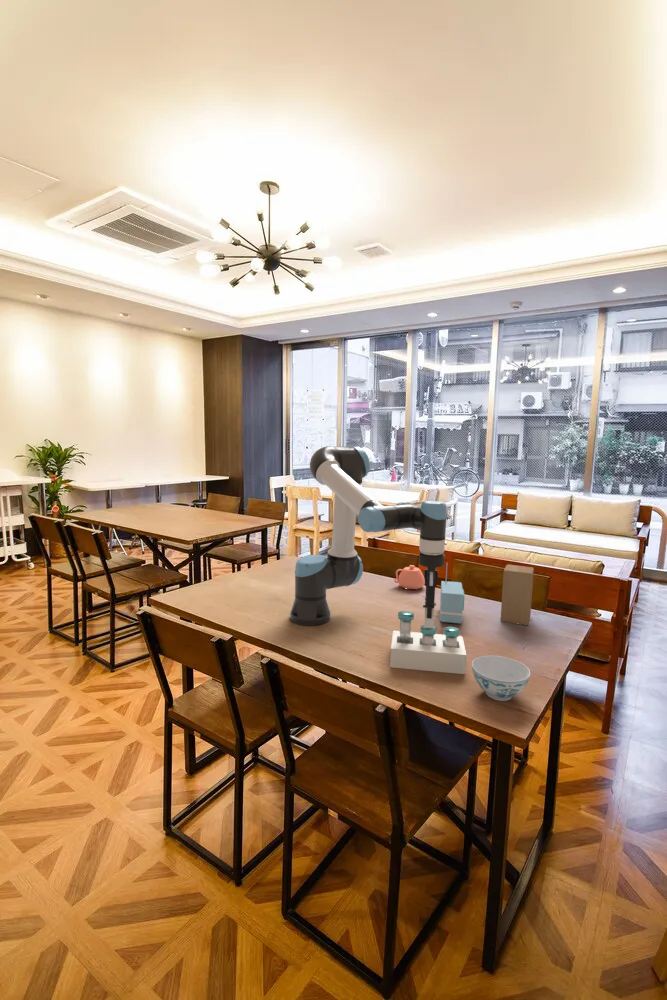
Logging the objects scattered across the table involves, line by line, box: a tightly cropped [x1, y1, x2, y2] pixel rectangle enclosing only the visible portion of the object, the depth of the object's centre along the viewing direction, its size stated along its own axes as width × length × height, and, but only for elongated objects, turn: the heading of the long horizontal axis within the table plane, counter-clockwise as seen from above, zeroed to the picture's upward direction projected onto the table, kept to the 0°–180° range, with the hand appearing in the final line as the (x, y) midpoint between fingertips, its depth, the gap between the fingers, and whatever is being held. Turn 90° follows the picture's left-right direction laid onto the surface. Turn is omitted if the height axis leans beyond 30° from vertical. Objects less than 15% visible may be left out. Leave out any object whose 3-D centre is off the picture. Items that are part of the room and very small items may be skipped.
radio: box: [439, 562, 465, 624], centre depth 193 cm, size 16×9×20 cm, turn 168°
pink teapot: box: [393, 564, 425, 590], centre depth 230 cm, size 12×14×10 cm
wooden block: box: [500, 564, 535, 626], centre depth 192 cm, size 10×10×20 cm
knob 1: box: [397, 610, 415, 644], centre depth 156 cm, size 5×5×9 cm
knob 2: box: [443, 626, 461, 648], centre depth 155 cm, size 5×5×9 cm
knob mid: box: [419, 624, 437, 646], centre depth 156 cm, size 5×5×9 cm
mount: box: [389, 630, 467, 675], centre depth 156 cm, size 22×14×6 cm, turn 80°
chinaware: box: [471, 655, 531, 702], centre depth 136 cm, size 15×15×8 cm
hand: (428, 626), depth 155 cm, fingers closed
